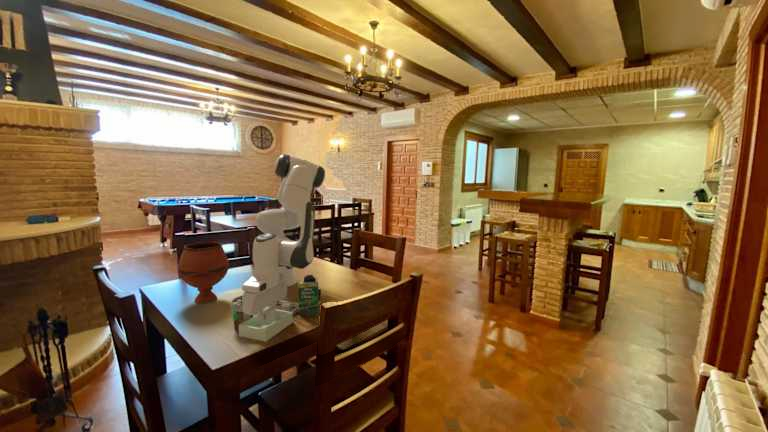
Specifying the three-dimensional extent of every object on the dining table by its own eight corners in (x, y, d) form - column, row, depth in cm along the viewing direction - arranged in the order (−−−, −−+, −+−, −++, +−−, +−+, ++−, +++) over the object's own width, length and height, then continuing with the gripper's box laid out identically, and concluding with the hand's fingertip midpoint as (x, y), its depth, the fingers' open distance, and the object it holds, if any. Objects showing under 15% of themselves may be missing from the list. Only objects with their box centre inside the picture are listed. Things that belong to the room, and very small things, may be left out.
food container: (238, 318, 121) (237, 293, 120) (254, 318, 122) (254, 293, 121) (224, 333, 109) (223, 306, 108) (243, 333, 110) (242, 306, 109)
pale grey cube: (280, 314, 126) (280, 306, 126) (283, 310, 130) (283, 302, 129) (289, 314, 126) (289, 306, 126) (291, 310, 130) (291, 302, 129)
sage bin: (238, 336, 108) (238, 325, 108) (268, 317, 123) (268, 307, 122) (265, 341, 105) (265, 330, 104) (292, 322, 119) (292, 312, 119)
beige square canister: (304, 306, 134) (304, 279, 133) (300, 300, 141) (300, 274, 139) (320, 303, 138) (321, 277, 136) (316, 298, 144) (316, 272, 143)
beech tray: (255, 315, 125) (255, 311, 124) (276, 302, 137) (276, 299, 137) (284, 320, 120) (284, 317, 120) (303, 307, 133) (303, 304, 133)
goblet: (169, 304, 133) (166, 246, 130) (209, 289, 151) (207, 238, 148) (201, 312, 126) (198, 251, 123) (239, 296, 144) (237, 242, 141)
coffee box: (297, 315, 125) (297, 283, 124) (298, 312, 128) (298, 281, 127) (317, 315, 126) (318, 283, 125) (318, 312, 129) (318, 281, 127)
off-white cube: (259, 323, 112) (258, 310, 112) (266, 319, 116) (266, 306, 115) (268, 325, 111) (268, 312, 110) (275, 320, 115) (275, 307, 114)
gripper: (277, 270, 122) (277, 304, 124) (238, 287, 103) (239, 327, 105) (291, 272, 120) (291, 307, 122) (254, 290, 101) (254, 330, 103)
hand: (267, 316), depth 113 cm, fingers closed on off-white cube, 4 cm apart
